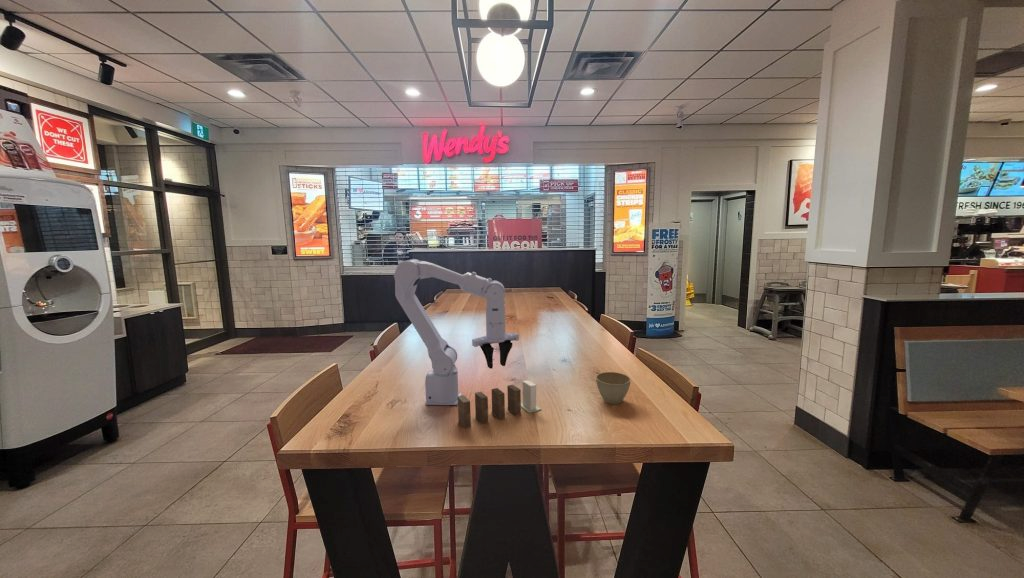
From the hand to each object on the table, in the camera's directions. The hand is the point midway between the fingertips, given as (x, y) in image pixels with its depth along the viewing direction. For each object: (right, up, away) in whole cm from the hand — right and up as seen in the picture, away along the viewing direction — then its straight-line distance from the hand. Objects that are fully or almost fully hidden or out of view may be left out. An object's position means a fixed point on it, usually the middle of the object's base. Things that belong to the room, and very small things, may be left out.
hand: (496, 366), depth 116 cm
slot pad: (+10, -11, -5) cm, 15 cm away
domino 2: (-4, -12, -12) cm, 17 cm away
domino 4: (+5, -11, -7) cm, 14 cm away
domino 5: (+10, -11, -5) cm, 15 cm away
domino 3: (+1, -12, -9) cm, 15 cm away
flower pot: (+35, -10, -1) cm, 36 cm away
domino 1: (-8, -12, -14) cm, 20 cm away
